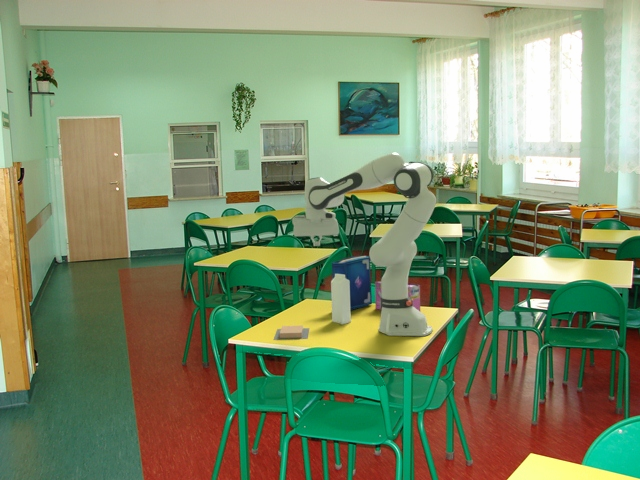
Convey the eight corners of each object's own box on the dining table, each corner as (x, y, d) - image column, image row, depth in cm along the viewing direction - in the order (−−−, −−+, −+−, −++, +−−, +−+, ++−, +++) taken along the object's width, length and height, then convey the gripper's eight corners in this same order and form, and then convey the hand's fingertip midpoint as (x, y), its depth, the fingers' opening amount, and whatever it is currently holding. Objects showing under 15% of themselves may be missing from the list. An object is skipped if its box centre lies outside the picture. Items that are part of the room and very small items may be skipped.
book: (341, 313, 309) (340, 261, 306) (331, 311, 314) (329, 260, 312) (372, 305, 324) (371, 255, 321) (362, 303, 329) (361, 254, 326)
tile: (282, 326, 276) (279, 333, 265) (303, 325, 276) (301, 332, 264) (282, 331, 277) (279, 338, 265) (303, 330, 276) (301, 338, 265)
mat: (277, 330, 281) (277, 329, 281) (309, 329, 280) (309, 328, 280) (273, 341, 264) (273, 339, 264) (307, 340, 263) (307, 338, 263)
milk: (342, 324, 287) (340, 275, 284) (332, 322, 291) (330, 274, 288) (351, 321, 291) (349, 273, 289) (340, 320, 295) (339, 272, 293)
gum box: (372, 308, 317) (372, 281, 315) (384, 306, 322) (383, 279, 320) (409, 316, 298) (409, 287, 297) (421, 313, 304) (420, 284, 302)
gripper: (291, 215, 282) (292, 247, 284) (338, 214, 282) (339, 245, 283) (292, 214, 288) (293, 245, 290) (338, 213, 288) (339, 244, 289)
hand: (316, 245), depth 287 cm, fingers closed
